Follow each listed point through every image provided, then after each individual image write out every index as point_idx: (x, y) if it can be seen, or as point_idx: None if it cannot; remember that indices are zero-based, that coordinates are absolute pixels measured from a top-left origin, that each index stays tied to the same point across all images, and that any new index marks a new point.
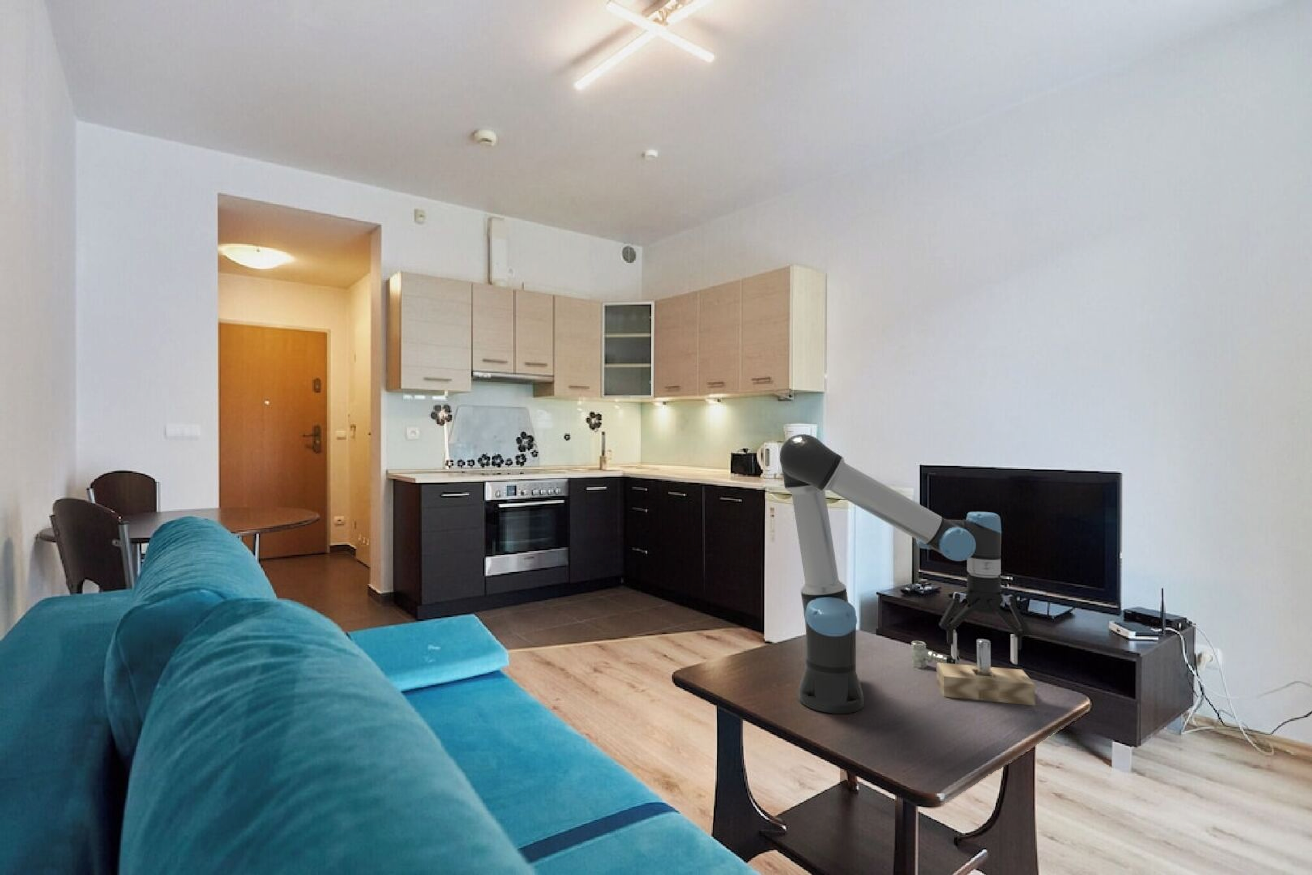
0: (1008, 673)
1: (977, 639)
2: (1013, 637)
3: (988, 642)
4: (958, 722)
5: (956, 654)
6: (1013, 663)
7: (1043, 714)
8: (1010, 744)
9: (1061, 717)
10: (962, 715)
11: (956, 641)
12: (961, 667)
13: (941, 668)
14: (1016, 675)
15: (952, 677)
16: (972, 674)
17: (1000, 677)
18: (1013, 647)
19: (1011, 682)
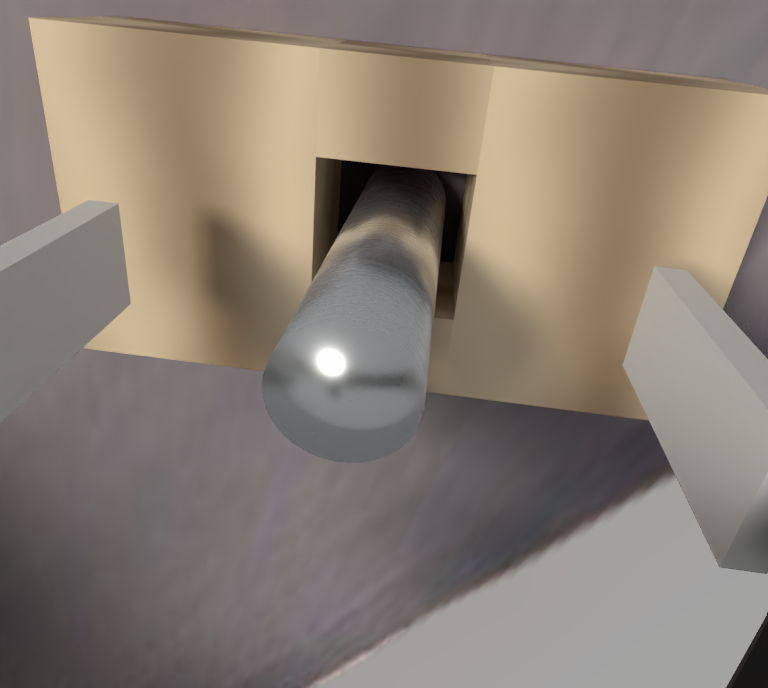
0: (601, 225)
1: (280, 347)
2: (722, 549)
3: (385, 450)
4: (183, 544)
5: (106, 324)
6: (626, 354)
7: (611, 449)
8: (330, 666)
9: None
10: (210, 488)
11: (26, 397)
12: (235, 132)
13: (69, 188)
14: (646, 263)
15: (141, 352)
16: (289, 289)
17: (485, 323)
18: (675, 453)
19: (522, 403)
